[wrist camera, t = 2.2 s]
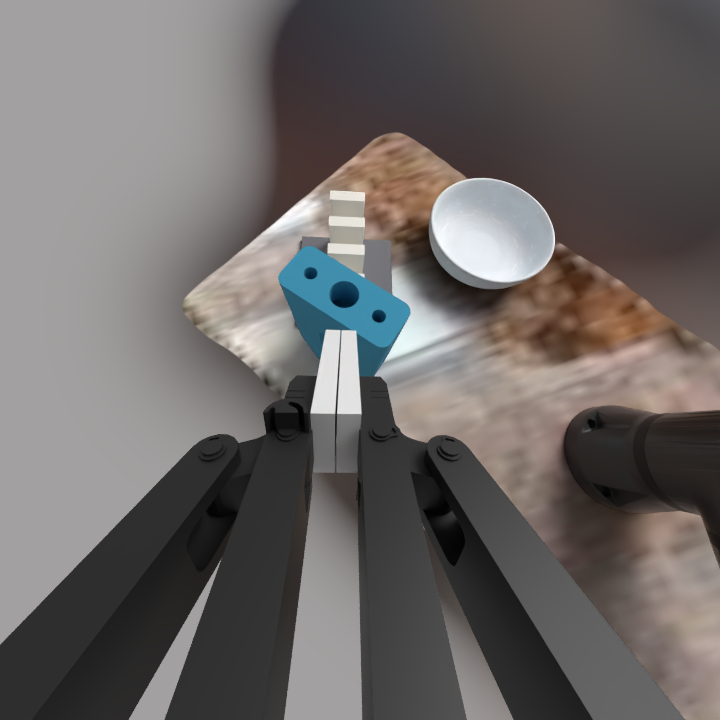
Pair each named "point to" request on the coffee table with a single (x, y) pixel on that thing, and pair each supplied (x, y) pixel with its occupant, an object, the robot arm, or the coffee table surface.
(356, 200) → the domino
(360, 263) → the domino
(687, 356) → the coffee table surface
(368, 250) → the domino mat
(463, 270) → the serving bowl
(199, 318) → the coffee table surface
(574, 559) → the coffee table surface
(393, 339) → the block
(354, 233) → the domino
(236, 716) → the robot arm
